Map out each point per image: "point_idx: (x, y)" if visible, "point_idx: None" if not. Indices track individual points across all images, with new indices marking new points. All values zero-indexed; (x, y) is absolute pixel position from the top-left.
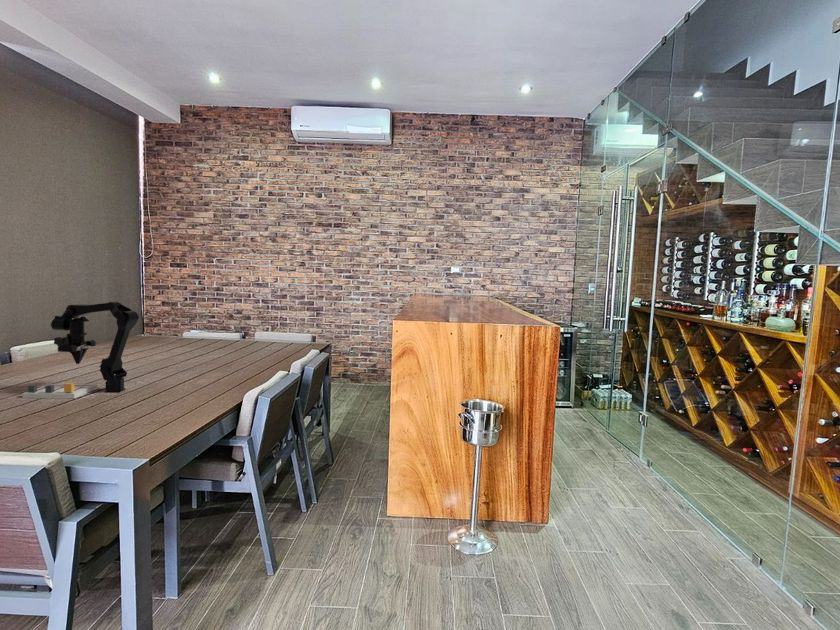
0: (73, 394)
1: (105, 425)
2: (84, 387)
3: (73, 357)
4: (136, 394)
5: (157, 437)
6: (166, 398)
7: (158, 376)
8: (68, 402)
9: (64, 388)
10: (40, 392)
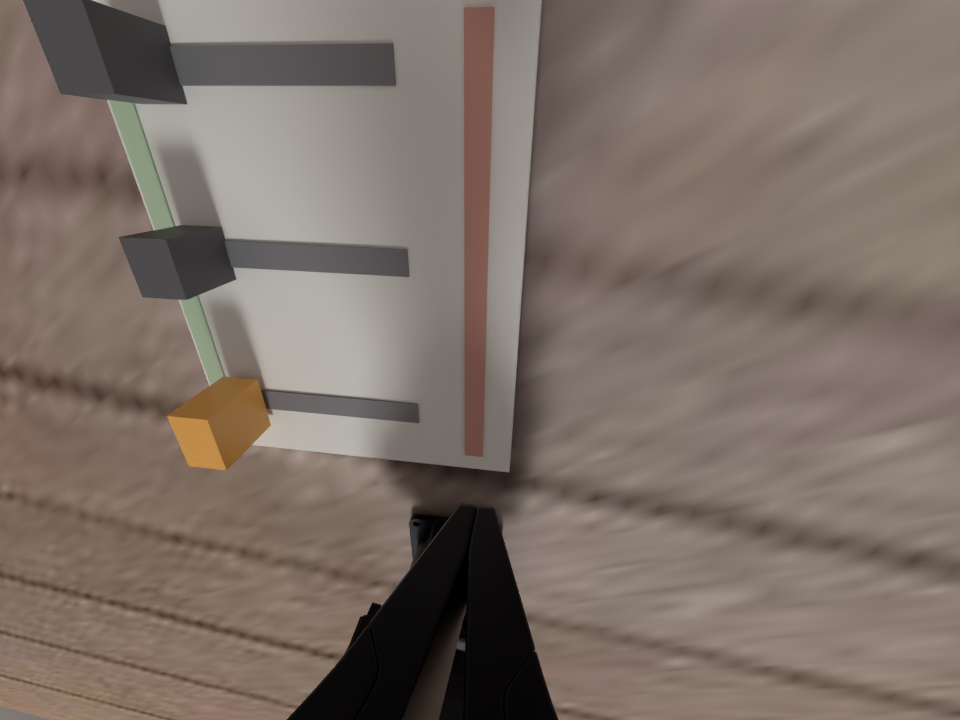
0: None
1: (39, 618)
2: (407, 429)
3: (368, 626)
4: None
5: (48, 700)
6: None
7: (883, 653)
8: None
9: (200, 395)
10: (170, 169)
